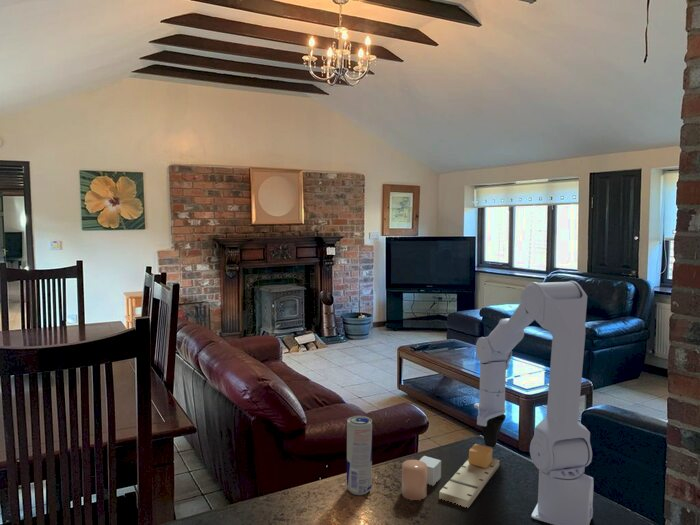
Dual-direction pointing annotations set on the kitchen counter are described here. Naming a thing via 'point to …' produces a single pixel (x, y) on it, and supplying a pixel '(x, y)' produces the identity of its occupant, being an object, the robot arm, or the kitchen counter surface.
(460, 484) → the counting board
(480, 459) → the tan square block
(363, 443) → the beverage can
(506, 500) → the kitchen counter surface
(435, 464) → the grey block
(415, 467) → the tan rounded cylinder
